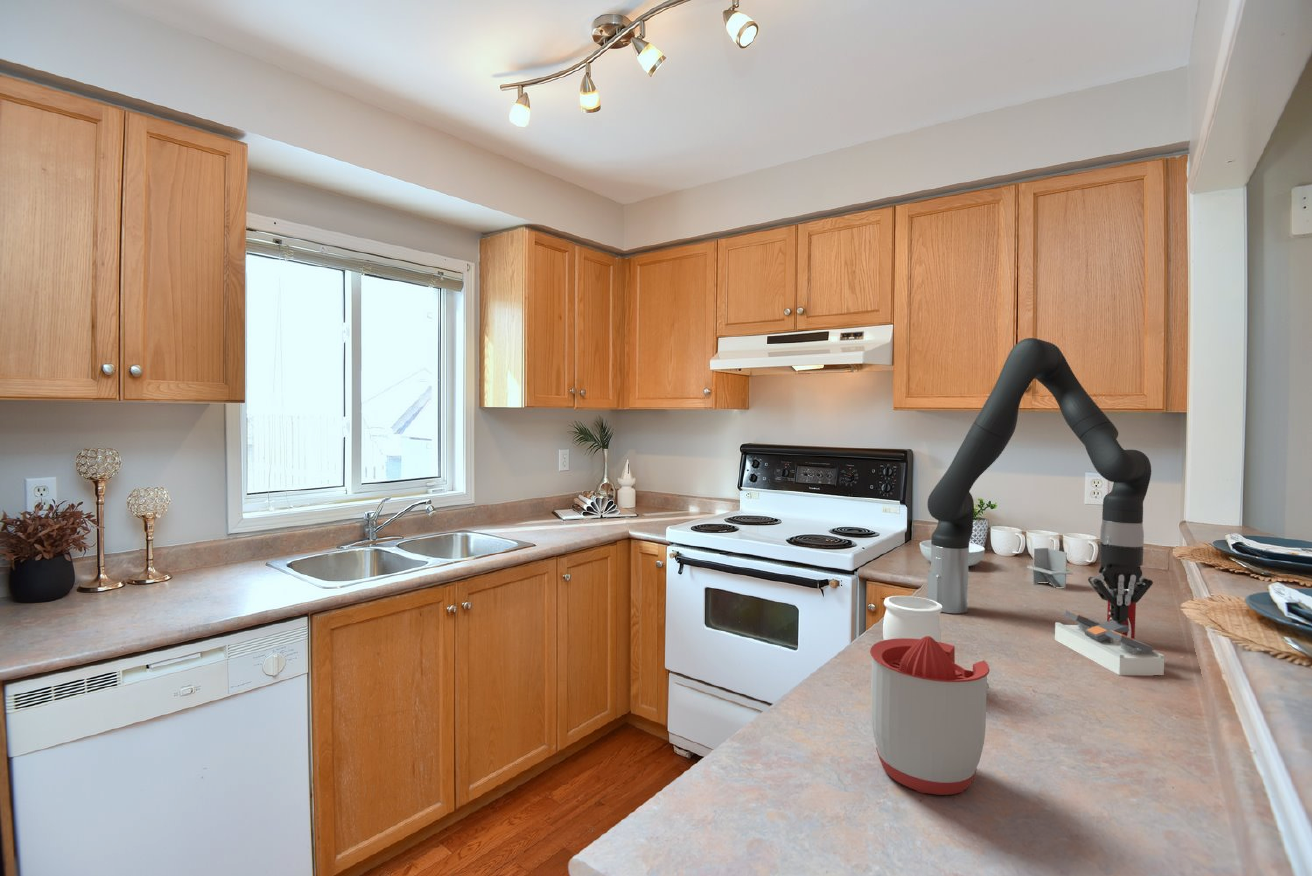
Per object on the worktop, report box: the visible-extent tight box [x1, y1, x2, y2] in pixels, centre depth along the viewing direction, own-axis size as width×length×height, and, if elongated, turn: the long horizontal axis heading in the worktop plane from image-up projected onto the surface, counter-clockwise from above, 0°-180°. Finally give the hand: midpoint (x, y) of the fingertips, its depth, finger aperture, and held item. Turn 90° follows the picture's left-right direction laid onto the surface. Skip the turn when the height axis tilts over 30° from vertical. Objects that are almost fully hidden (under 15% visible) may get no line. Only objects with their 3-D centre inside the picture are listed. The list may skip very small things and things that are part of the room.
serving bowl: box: [919, 539, 986, 567], centre depth 220 cm, size 21×21×7 cm
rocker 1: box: [1064, 609, 1101, 627], centre depth 142 cm, size 7×4×1 cm, turn 91°
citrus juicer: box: [869, 636, 991, 796], centre depth 90 cm, size 16×17×20 cm
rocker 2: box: [1105, 629, 1154, 653], centre depth 129 cm, size 7×4×1 cm, turn 91°
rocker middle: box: [1084, 620, 1129, 642], centre depth 135 cm, size 7×4×1 cm, turn 90°
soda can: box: [1106, 601, 1137, 640], centre depth 144 cm, size 5×5×12 cm
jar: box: [882, 595, 942, 643], centre depth 123 cm, size 11×10×15 cm
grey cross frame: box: [1026, 547, 1074, 589], centre depth 192 cm, size 19×21×12 cm
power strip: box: [1054, 621, 1165, 676], centre depth 138 cm, size 9×26×5 cm, turn 0°
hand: (1118, 621), depth 135 cm, fingers closed
